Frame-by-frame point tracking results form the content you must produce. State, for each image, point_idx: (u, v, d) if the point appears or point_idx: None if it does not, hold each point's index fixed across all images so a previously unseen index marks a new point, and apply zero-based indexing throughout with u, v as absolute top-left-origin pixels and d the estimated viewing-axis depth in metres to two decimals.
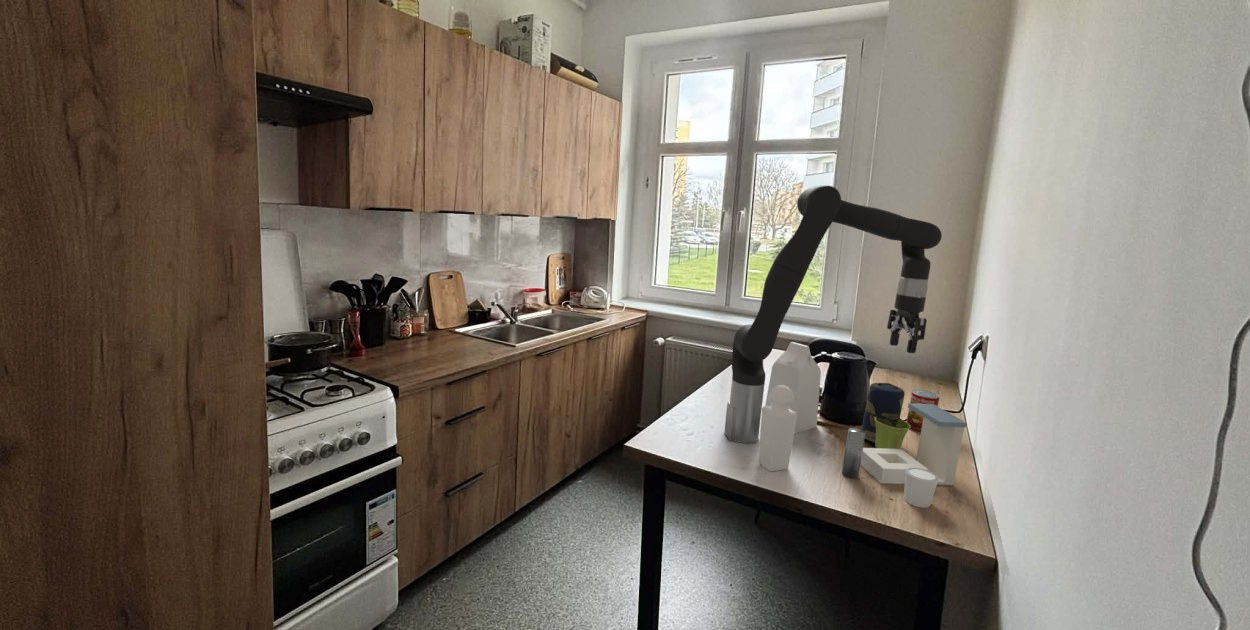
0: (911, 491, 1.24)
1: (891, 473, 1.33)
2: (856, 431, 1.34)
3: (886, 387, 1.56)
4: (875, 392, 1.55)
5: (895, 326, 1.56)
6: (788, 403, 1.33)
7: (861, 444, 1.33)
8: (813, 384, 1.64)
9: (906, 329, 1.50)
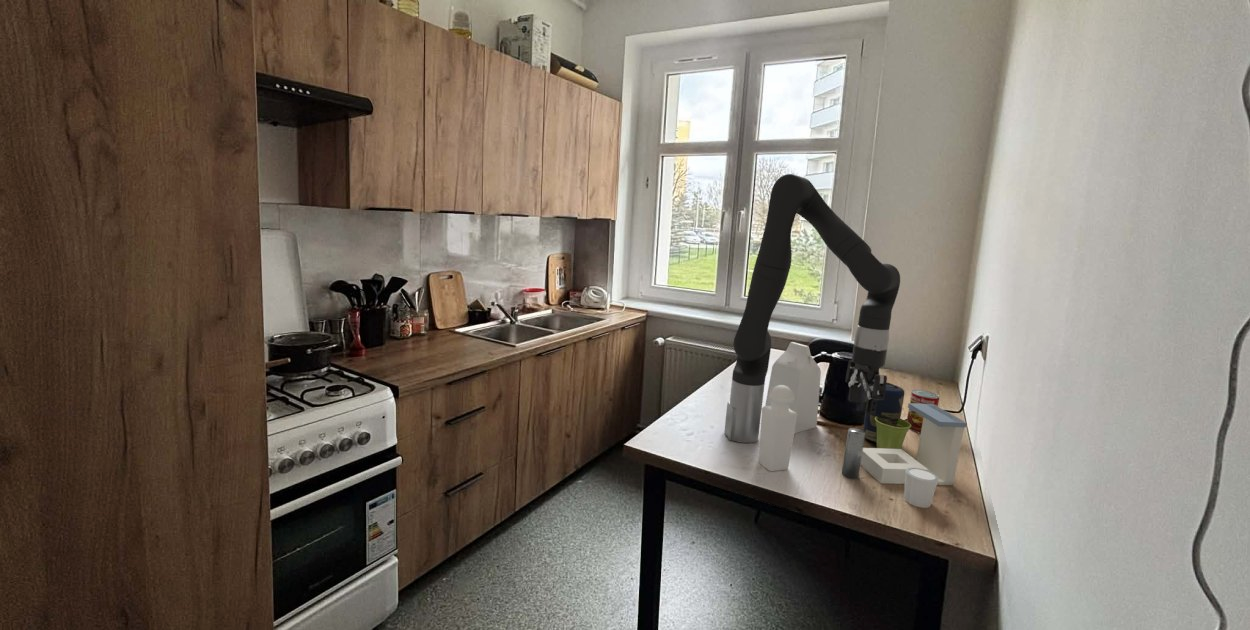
0: (911, 491, 1.24)
1: (891, 473, 1.33)
2: (856, 431, 1.34)
3: (886, 387, 1.57)
4: None
5: (853, 380, 1.35)
6: (788, 403, 1.33)
7: (861, 444, 1.33)
8: (813, 384, 1.64)
9: (864, 386, 1.29)
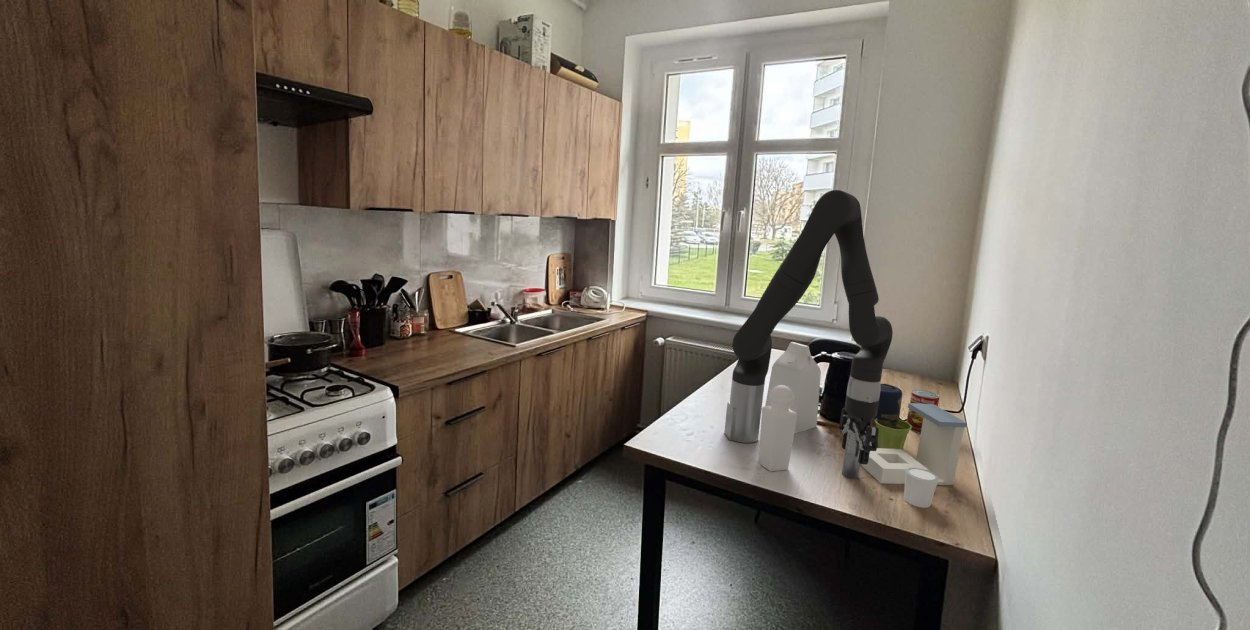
0: (911, 491, 1.24)
1: (891, 473, 1.33)
2: None
3: (883, 388, 1.56)
4: None
5: (847, 429, 1.37)
6: (788, 403, 1.33)
7: None
8: (813, 384, 1.64)
9: (857, 437, 1.31)
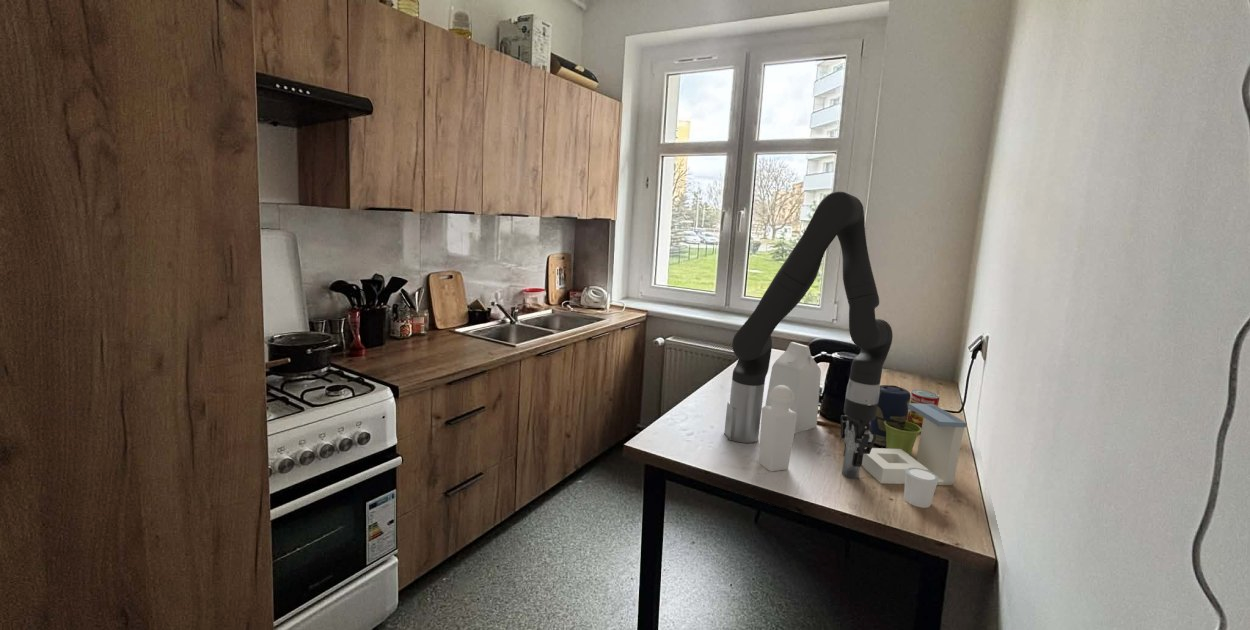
0: (911, 491, 1.24)
1: (891, 473, 1.33)
2: None
3: (892, 390, 1.55)
4: (882, 395, 1.53)
5: (847, 434, 1.36)
6: (788, 403, 1.33)
7: None
8: (813, 384, 1.64)
9: (853, 439, 1.33)
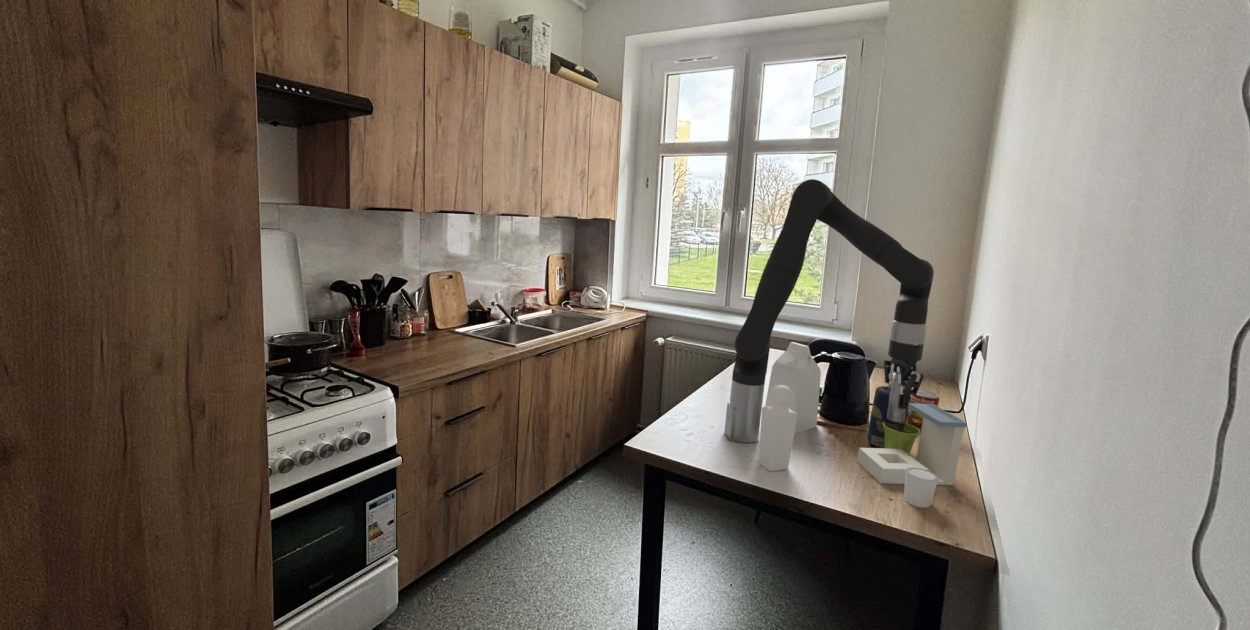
0: (911, 491, 1.24)
1: (891, 473, 1.33)
2: None
3: None
4: (882, 396, 1.52)
5: None
6: (788, 403, 1.33)
7: None
8: (813, 384, 1.64)
9: (899, 381, 1.32)
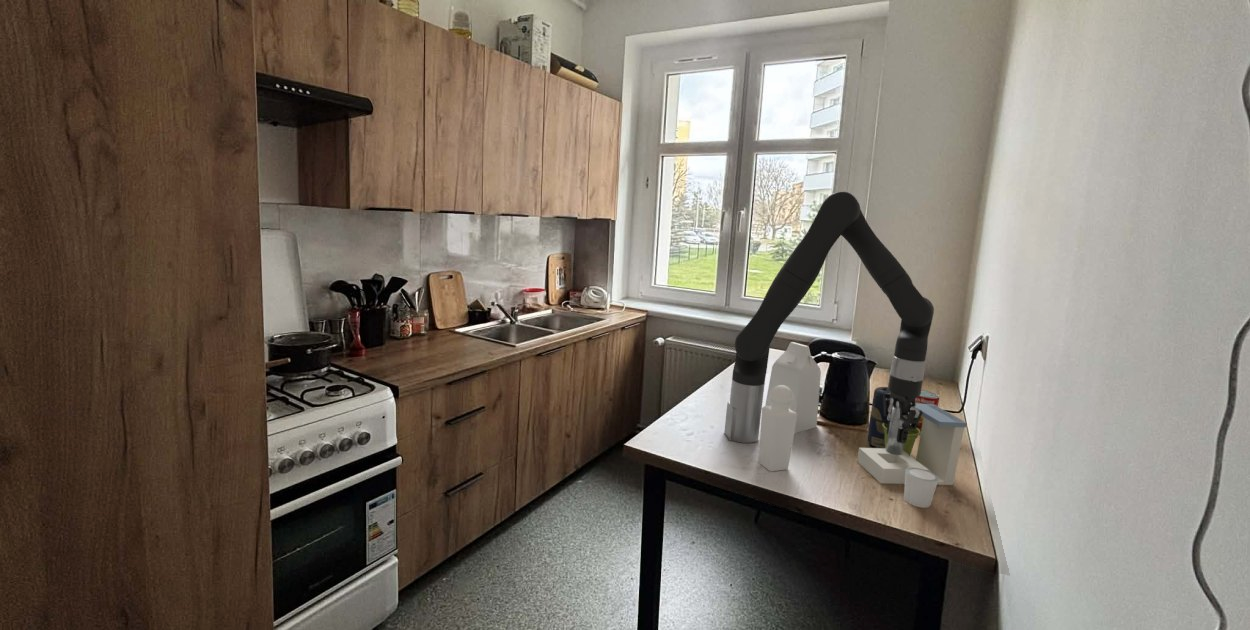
0: (911, 491, 1.24)
1: (891, 473, 1.33)
2: None
3: None
4: (881, 397, 1.51)
5: (891, 412, 1.38)
6: (788, 403, 1.33)
7: None
8: (813, 384, 1.64)
9: (898, 416, 1.35)
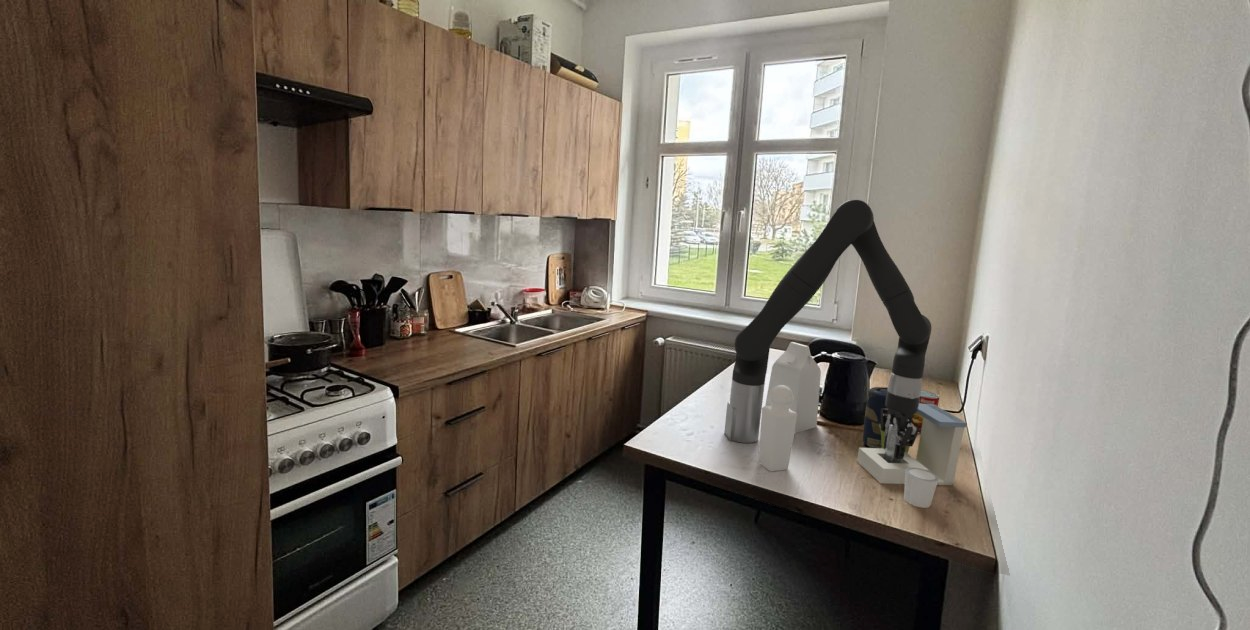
0: (911, 491, 1.24)
1: (891, 473, 1.33)
2: None
3: (885, 392, 1.52)
4: (876, 398, 1.51)
5: (888, 427, 1.39)
6: (788, 403, 1.33)
7: None
8: (813, 384, 1.64)
9: (895, 432, 1.35)
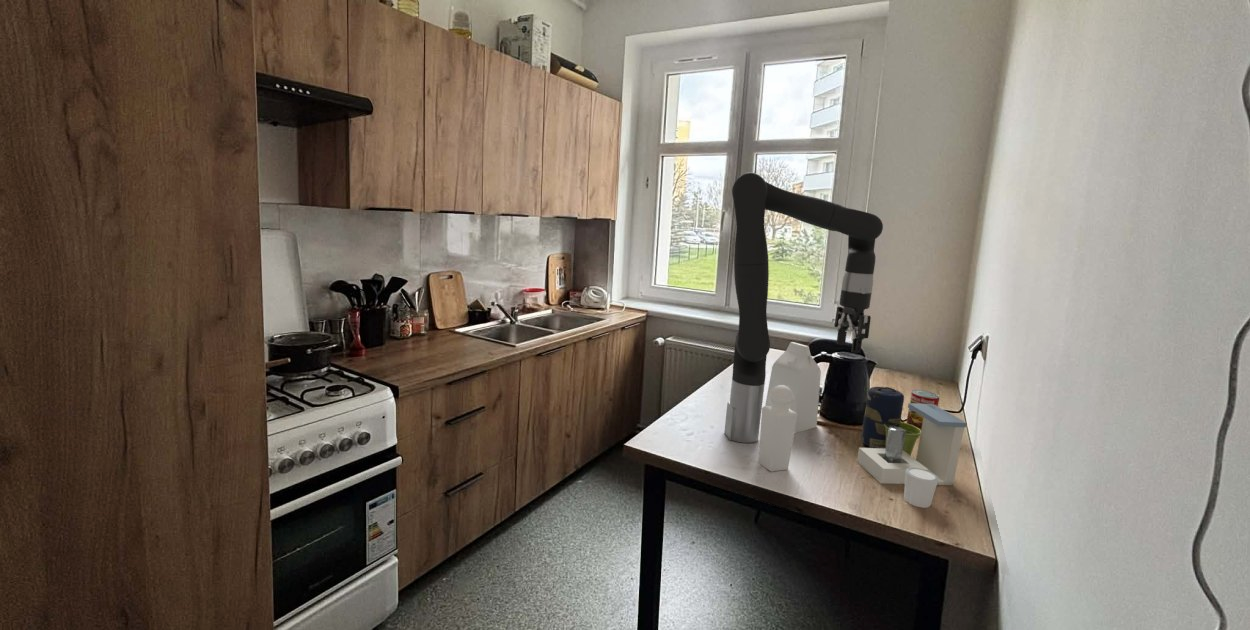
0: (911, 491, 1.24)
1: (891, 473, 1.33)
2: (897, 429, 1.37)
3: (887, 392, 1.52)
4: (880, 398, 1.50)
5: (841, 324, 1.47)
6: (788, 403, 1.33)
7: (902, 442, 1.36)
8: (813, 384, 1.64)
9: (850, 327, 1.41)
